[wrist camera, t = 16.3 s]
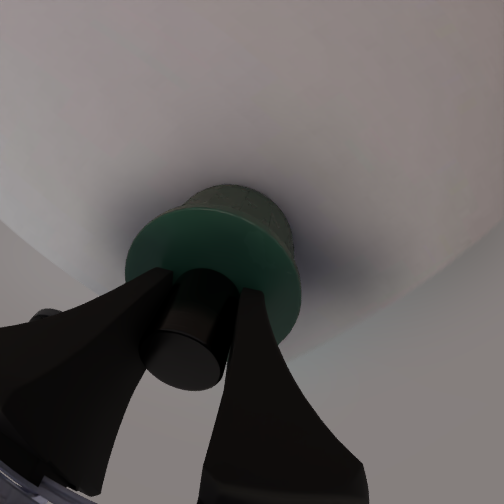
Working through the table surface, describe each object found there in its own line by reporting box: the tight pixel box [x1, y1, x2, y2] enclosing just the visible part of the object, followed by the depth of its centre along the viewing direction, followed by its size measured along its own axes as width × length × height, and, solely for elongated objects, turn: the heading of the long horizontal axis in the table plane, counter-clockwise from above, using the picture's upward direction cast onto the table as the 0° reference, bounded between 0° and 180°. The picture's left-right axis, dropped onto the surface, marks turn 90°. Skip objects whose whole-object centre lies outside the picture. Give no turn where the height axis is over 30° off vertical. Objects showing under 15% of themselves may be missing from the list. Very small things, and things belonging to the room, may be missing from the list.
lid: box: [125, 203, 301, 391], centre depth 9 cm, size 6×6×4 cm
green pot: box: [182, 185, 294, 259], centre depth 13 cm, size 6×6×4 cm
